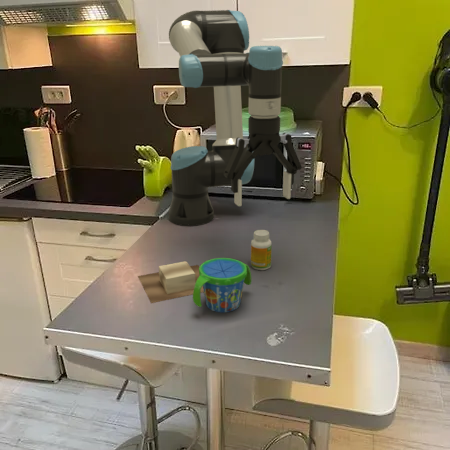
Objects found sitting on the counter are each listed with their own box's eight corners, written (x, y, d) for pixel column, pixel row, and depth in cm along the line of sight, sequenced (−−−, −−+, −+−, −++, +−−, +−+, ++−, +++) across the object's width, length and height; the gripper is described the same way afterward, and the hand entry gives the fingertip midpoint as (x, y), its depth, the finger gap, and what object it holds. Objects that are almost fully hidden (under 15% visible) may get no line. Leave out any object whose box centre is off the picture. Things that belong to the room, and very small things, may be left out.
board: (138, 280, 122) (137, 276, 122) (198, 268, 128) (197, 264, 127) (151, 307, 110) (151, 303, 110) (216, 293, 116) (216, 289, 115)
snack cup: (237, 288, 118) (237, 250, 114) (264, 306, 110) (265, 266, 106) (182, 308, 110) (179, 268, 106) (207, 330, 102) (206, 287, 98)
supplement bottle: (269, 271, 126) (270, 237, 122) (249, 269, 127) (249, 235, 123) (272, 262, 131) (273, 229, 127) (252, 260, 132) (252, 227, 128)
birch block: (159, 280, 120) (158, 266, 118) (186, 275, 122) (186, 261, 120) (167, 294, 114) (166, 278, 112) (195, 288, 116) (195, 273, 114)
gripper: (221, 122, 106) (222, 212, 114) (318, 114, 115) (313, 198, 123) (209, 117, 113) (211, 202, 121) (302, 109, 121) (298, 190, 129)
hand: (262, 200), depth 122 cm, fingers open, 13 cm apart
